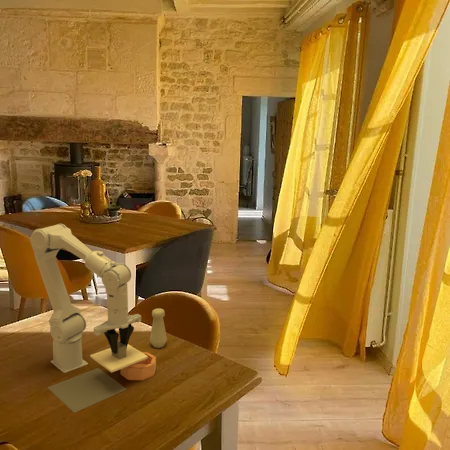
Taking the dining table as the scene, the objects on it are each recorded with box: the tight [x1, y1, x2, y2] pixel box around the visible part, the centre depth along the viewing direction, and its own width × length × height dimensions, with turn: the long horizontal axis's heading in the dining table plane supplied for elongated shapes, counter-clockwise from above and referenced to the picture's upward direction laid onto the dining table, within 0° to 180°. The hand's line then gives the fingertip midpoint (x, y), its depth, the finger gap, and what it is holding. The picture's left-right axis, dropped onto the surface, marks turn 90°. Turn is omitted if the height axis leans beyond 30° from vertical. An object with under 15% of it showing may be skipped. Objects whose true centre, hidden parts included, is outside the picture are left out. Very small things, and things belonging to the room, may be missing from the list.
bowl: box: [119, 351, 157, 381], centre depth 138 cm, size 10×10×4 cm
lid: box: [89, 340, 148, 373], centre depth 133 cm, size 12×12×4 cm
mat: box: [46, 367, 128, 414], centre depth 129 cm, size 16×16×1 cm
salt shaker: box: [149, 307, 168, 349], centre depth 155 cm, size 6×6×13 cm
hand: (118, 350), depth 133 cm, fingers closed on lid, 2 cm apart
